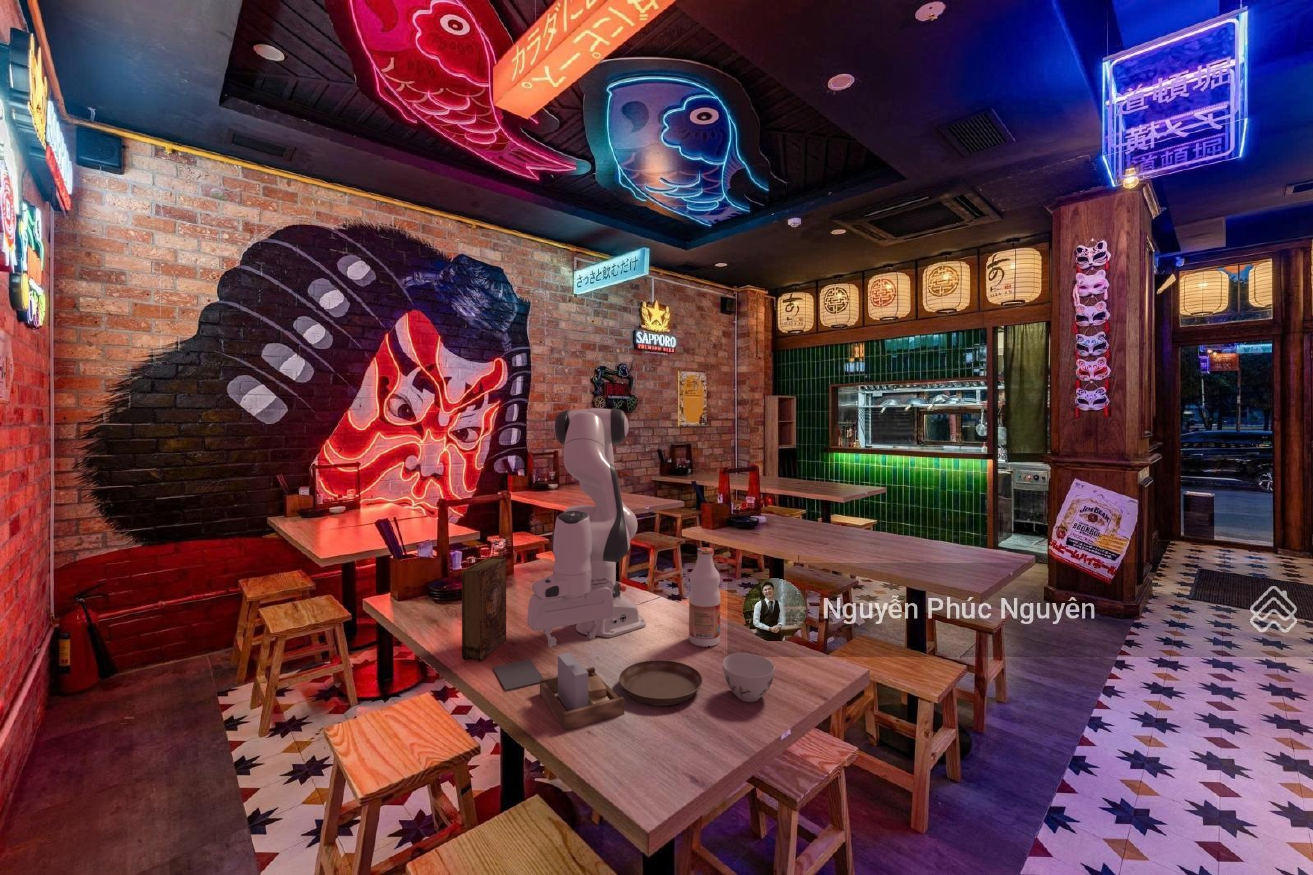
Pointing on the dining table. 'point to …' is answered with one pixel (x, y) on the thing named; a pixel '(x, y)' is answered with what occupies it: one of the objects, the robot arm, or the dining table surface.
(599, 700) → the block
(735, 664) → the teacup
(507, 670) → the mat
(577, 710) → the brown open frame piece
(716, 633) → the fruit juice
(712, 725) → the dining table surface
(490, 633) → the book
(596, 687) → the offcut short
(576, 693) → the block
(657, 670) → the plant saucer
